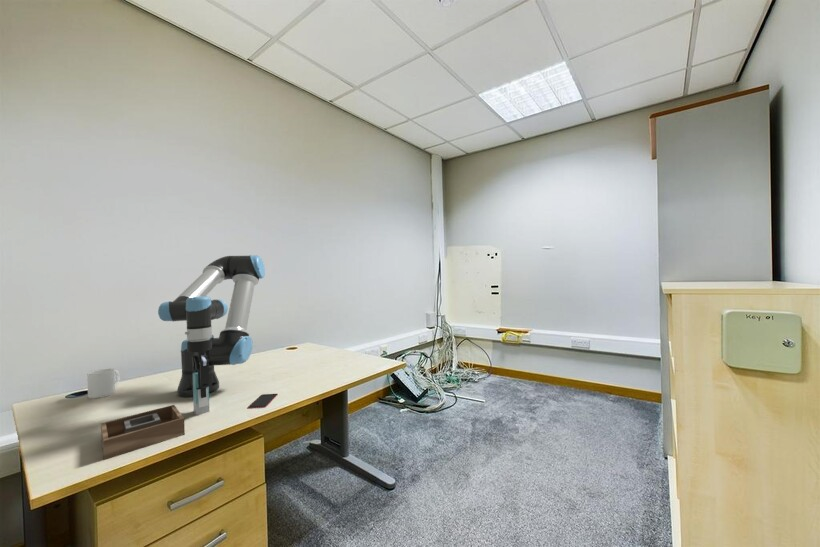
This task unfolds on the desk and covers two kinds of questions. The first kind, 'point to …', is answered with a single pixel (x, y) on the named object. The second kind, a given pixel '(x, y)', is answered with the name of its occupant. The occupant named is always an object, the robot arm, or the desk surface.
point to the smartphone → (262, 401)
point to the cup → (102, 382)
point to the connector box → (141, 430)
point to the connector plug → (195, 397)
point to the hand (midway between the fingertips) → (201, 404)
